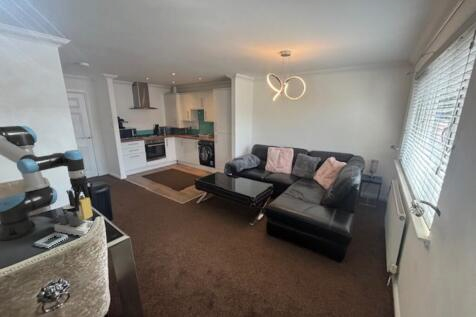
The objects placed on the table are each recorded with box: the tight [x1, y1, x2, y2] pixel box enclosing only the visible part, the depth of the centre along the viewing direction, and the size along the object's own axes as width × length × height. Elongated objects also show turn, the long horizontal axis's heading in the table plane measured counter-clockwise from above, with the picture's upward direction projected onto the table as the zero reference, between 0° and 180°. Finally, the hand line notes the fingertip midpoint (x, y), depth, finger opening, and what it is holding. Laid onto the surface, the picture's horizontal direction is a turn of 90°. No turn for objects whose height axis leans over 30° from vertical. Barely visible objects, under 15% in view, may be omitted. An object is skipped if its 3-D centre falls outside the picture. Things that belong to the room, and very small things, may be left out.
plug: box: [78, 194, 94, 220], centre depth 117 cm, size 5×5×14 cm
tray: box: [34, 231, 69, 249], centre depth 111 cm, size 10×10×2 cm
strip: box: [53, 210, 95, 237], centre depth 122 cm, size 24×10×12 cm, turn 75°
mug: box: [61, 203, 77, 213], centre depth 135 cm, size 12×9×10 cm
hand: (84, 213), depth 118 cm, fingers closed on plug, 5 cm apart
